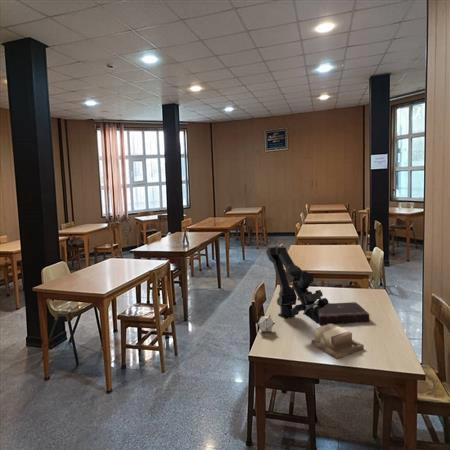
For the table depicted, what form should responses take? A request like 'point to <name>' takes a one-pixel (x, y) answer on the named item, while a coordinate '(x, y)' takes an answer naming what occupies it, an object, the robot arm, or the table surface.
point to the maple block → (333, 337)
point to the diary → (342, 313)
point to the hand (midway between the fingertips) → (318, 323)
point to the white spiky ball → (265, 323)
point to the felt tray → (354, 348)
